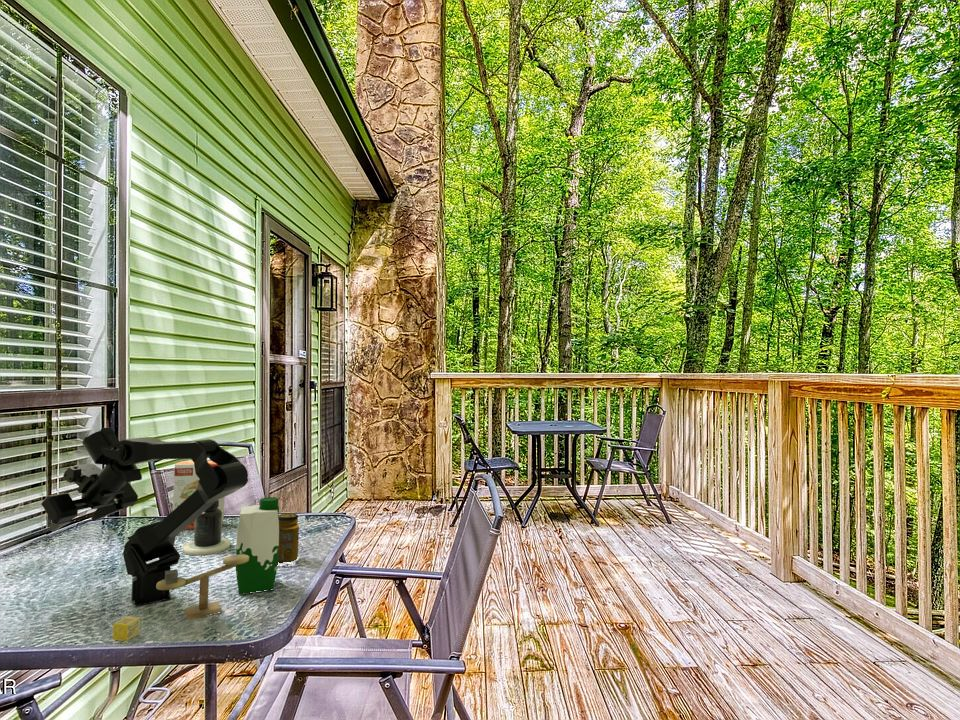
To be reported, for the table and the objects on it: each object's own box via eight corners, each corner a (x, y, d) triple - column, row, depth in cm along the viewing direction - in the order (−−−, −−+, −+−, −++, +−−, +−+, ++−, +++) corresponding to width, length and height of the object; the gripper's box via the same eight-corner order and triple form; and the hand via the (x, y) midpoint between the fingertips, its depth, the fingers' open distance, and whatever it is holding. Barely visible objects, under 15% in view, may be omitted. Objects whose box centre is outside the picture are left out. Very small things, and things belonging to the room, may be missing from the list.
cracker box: (170, 530, 162) (173, 463, 163) (177, 525, 168) (180, 461, 169) (219, 528, 166) (221, 463, 167) (224, 523, 172) (226, 460, 172)
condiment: (303, 556, 141) (304, 512, 141) (292, 567, 132) (294, 520, 133) (275, 556, 140) (277, 511, 141) (263, 567, 132) (265, 520, 132)
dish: (226, 539, 154) (226, 534, 155) (234, 550, 145) (234, 545, 145) (180, 546, 147) (180, 541, 148) (185, 558, 138) (185, 552, 138)
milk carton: (277, 591, 117) (280, 502, 118) (233, 597, 113) (236, 505, 114) (277, 578, 125) (280, 494, 126) (235, 582, 121) (239, 497, 122)
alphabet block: (140, 633, 97) (141, 616, 97) (126, 641, 94) (127, 624, 94) (126, 632, 97) (126, 615, 97) (112, 640, 94) (112, 623, 94)
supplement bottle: (209, 538, 151) (211, 497, 151) (226, 541, 148) (228, 499, 148) (188, 545, 144) (190, 501, 145) (205, 548, 142) (207, 504, 142)
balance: (244, 599, 113) (246, 552, 113) (249, 607, 108) (251, 559, 109) (153, 618, 103) (155, 567, 103) (155, 628, 99) (157, 575, 99)
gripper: (131, 448, 128) (95, 490, 130) (50, 458, 110) (10, 506, 113) (154, 482, 125) (117, 524, 128) (75, 498, 107) (34, 547, 110)
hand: (72, 524), depth 120 cm, fingers open, 9 cm apart
